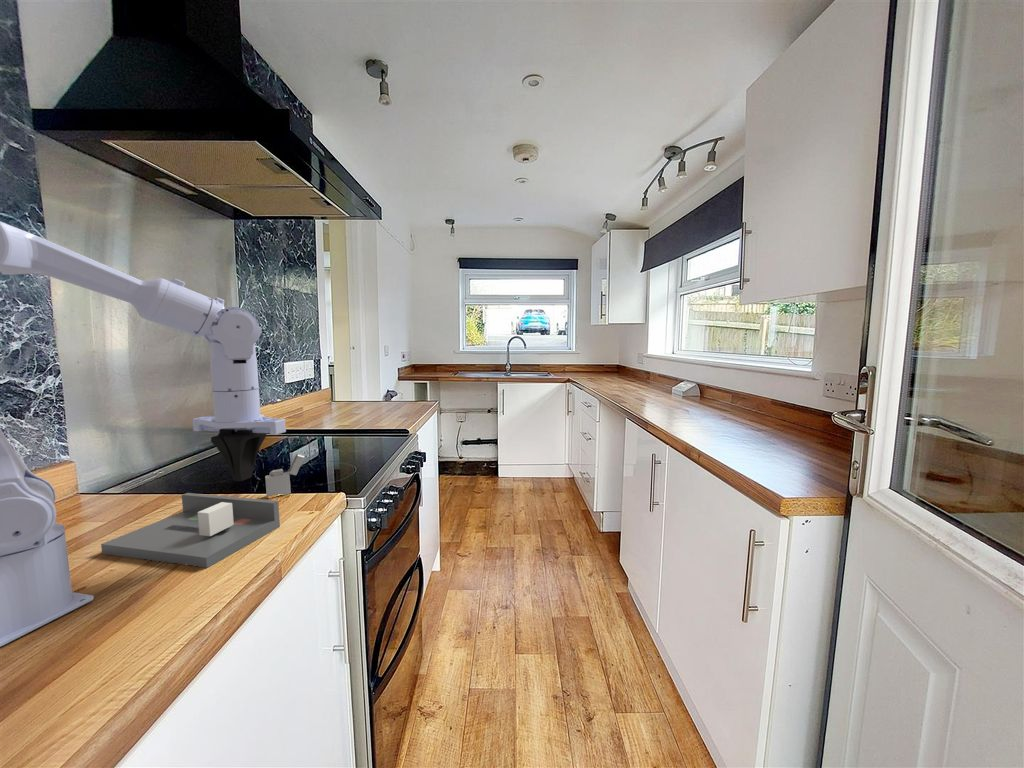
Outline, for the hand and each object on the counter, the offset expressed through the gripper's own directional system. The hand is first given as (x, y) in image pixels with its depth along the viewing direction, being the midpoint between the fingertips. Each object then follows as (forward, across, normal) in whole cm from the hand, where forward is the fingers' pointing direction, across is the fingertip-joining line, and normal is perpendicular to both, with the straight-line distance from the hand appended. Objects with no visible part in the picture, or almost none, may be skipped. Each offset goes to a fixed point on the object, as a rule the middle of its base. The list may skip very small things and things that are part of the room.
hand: (242, 478), depth 61 cm
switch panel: (+10, +10, 0) cm, 14 cm away
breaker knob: (+9, +5, 0) cm, 10 cm away
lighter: (+11, +10, -20) cm, 25 cm away
